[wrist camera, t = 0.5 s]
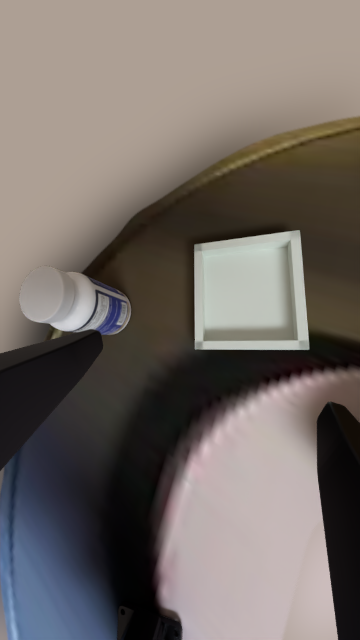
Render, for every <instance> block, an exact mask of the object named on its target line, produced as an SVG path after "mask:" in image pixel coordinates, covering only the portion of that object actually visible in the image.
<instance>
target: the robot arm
mask: <svg viewBox="0 0 360 640" xmlns="http://www.w3.org/2000/svg"><path fill="white" fill-rule="evenodd" d="M102 349H103V342H102V336H101V333H100V331H98V330H95V329H88V330H85V331H81V332H77V333H74V334H70V335H66V336H63V337H59V338H55V339H52V340H48V341H44V342H41V343H37V344H33V345H30V346H27V347H23V348H19V349H15V350H12V351H8V352H4V353H0V471H1V469H2V468H3V467H4V466H5V465H6V464H7V463H8V461H9V460H10V459H11V458H12V457H13V456H14V455H15V453H16V452H17V451H18V450H19V449H20V448H21V447H22V446H23V444H24V443H25V442H26V441H27V440H28V439H29V438H30V436H31V435H32V434H33V433H34V432H35V431H36V430H37V428H38V427H39V426H40V425H41V424H42V423H43V422H44V420H45V419H46V418H47V417H48V416H49V415H50V414H51V413H52V411H53V410H54V409H55V408H56V407H57V406H58V405H59V403H60V402H61V401H62V400H63V399H64V398H65V397H66V395H67V394H68V393H69V392H70V391H71V390H72V389H73V387H74V386H75V385H76V384H77V383H78V382H79V381H80V379H81V378H82V377H83V376H84V374H85V373H86V372H87V370H88V369H89V368H90V366H91V365H92V363H93V362H94V361H95V359H96V358H97V357H98V355H99V354H100V352H101V351H102ZM317 474H318V483H319V491H320V499H321V507H322V515H323V523H324V531H325V539H326V547H327V555H328V563H329V571H330V579H331V587H332V594H333V603H334V611H335V619H336V626H337V634H338V640H360V423H359V422H358V421H357V420H356V418H355V417H354V416H353V415H352V414H351V413H350V412H349V410H348V409H347V408H346V407H345V406H343V405H340V404H337V403H334V402H328V403H327V404H326V405H325V407H324V408H323V410H322V412H321V413H320V415H319V417H318V419H317ZM176 630H177V631H176ZM117 640H182V626H181V624H180V623H179V622H177V621H175V620H172V619H169V618H167V617H164V616H162V615H159V614H156V613H154V612H151V611H149V610H146V609H143V608H141V607H138V606H136V605H133V604H130V603H128V602H125V601H123V602H122V603H121V605H120V607H119V610H118V634H117Z"/></svg>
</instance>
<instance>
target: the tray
mask: <svg viewBox="0 0 360 640" xmlns="http://www.w3.org/2000/svg"><path fill="white" fill-rule="evenodd" d="M194 276H195V349H244V350H309V338H308V326H307V314H306V301H305V289H304V276H303V264H302V251H301V239H300V230H296V231H289V232H282V233H275V234H268V235H260V236H253V237H246V238H239V239H232V240H224V241H217V242H210V243H203V244H195V245H194Z"/></svg>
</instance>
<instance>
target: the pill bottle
mask: <svg viewBox="0 0 360 640" xmlns="http://www.w3.org/2000/svg"><path fill="white" fill-rule="evenodd" d="M19 300H20V307H21V310H22V311H23V313H24V315H25V316H26V317H27V318H29V319H30V320H32V321H35V322H41V323H50V324H51V325H52V326H53V327H55V328H57V329H59V330H62V331H69V332H81V331H85V330H88V329H95V330H98V331H100V333H101V334H103V335H112V334H116V333H118V332H120V331H121V330H122V329H123V328H124V327H125V326H126V325H127V323H128V321H129V319H130V315H131V306H130V302H129V300H128V298H127V297H126V296H125V294H123V293H122V292H121V291H119V290H117V289H114V288H112V287H110V286H108V285H105V284H103V283H101V282H99V281H97V280H94V279H92V278H90V277H88V276H86V275H83V274H81V273H77V272H64V271H61V270H59V269H56V268H53V267H50V266H41V267H38V268H36V269H34V270H33V271H31V272H30V273H29V274H28V276H27V277H26V278H25V280H24V282H23V284H22V286H21V289H20V297H19Z"/></svg>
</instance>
